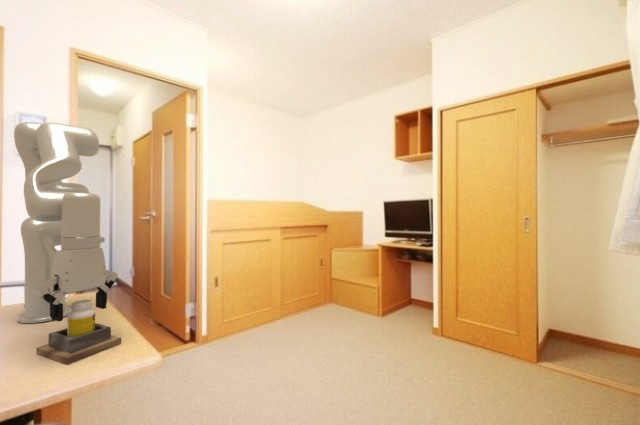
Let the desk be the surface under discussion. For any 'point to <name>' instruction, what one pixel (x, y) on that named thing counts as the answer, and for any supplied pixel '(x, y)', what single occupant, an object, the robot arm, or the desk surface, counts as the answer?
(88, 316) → the supplement bottle
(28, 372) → the desk surface
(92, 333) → the socket stand
